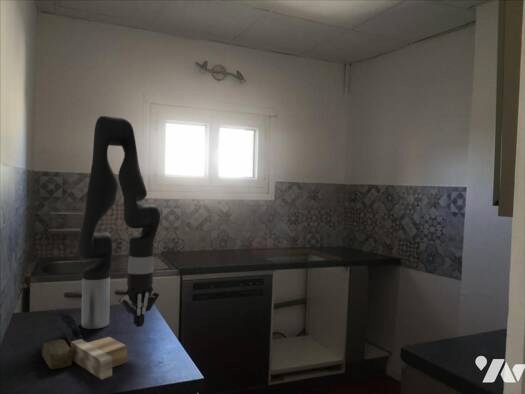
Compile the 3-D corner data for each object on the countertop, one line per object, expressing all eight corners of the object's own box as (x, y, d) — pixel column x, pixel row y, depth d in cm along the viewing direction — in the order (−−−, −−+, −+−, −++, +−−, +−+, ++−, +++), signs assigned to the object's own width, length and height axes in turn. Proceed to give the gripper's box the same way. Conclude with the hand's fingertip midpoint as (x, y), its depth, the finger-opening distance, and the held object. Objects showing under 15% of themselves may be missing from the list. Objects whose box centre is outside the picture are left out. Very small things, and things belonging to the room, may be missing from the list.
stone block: (50, 372, 109) (50, 354, 109) (41, 358, 118) (41, 341, 118) (73, 366, 113) (73, 349, 113) (62, 353, 122) (62, 336, 122)
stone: (93, 344, 128) (93, 313, 128) (77, 351, 123) (78, 319, 122) (62, 337, 134) (62, 307, 133) (45, 343, 128) (46, 312, 128)
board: (70, 358, 118) (70, 341, 117) (80, 355, 120) (81, 339, 120) (101, 379, 106) (101, 360, 106) (112, 375, 108) (112, 357, 108)
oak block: (86, 360, 118) (86, 342, 118) (108, 352, 123) (109, 336, 123) (103, 371, 111) (103, 353, 111) (126, 363, 117) (126, 345, 116)
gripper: (152, 265, 131) (150, 317, 132) (113, 270, 121) (112, 328, 122) (166, 269, 126) (164, 324, 127) (127, 275, 116) (125, 335, 117)
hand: (138, 325), depth 124 cm, fingers closed
